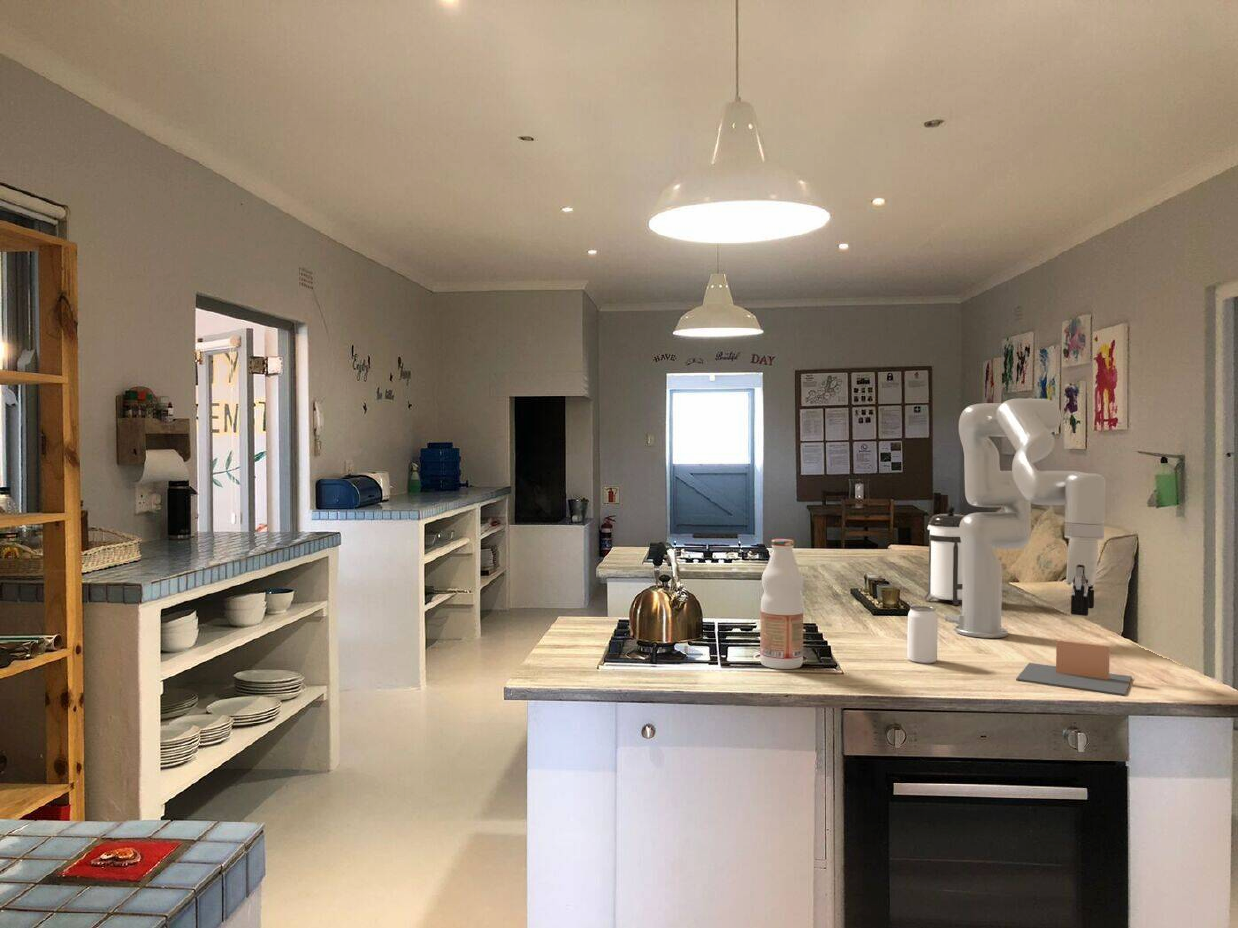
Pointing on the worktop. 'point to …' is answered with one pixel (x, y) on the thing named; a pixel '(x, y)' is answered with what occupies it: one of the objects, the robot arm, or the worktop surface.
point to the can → (922, 635)
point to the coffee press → (945, 557)
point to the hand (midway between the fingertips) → (1082, 611)
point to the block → (1083, 659)
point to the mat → (1074, 680)
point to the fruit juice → (782, 609)
